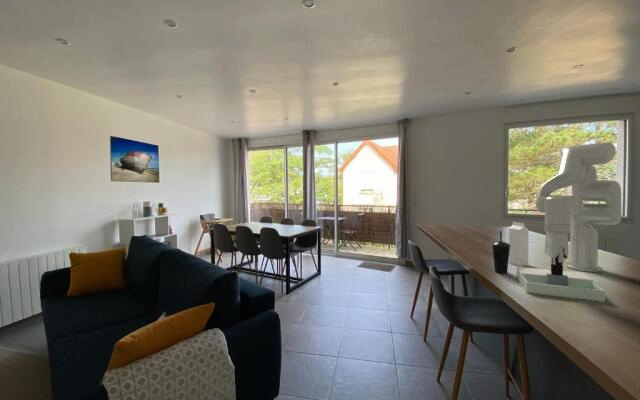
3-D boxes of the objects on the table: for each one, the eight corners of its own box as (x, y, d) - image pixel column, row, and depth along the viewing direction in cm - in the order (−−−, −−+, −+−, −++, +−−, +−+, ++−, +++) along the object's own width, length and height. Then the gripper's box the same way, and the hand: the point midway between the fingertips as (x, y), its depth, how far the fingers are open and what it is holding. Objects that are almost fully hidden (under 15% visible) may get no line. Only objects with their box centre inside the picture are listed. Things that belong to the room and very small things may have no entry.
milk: (520, 266, 134) (520, 223, 133) (508, 263, 140) (508, 222, 139) (528, 264, 136) (528, 222, 135) (517, 261, 142) (516, 221, 141)
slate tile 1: (546, 273, 105) (547, 274, 103) (565, 275, 102) (567, 276, 100) (546, 283, 105) (547, 284, 103) (566, 285, 102) (568, 286, 100)
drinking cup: (514, 274, 122) (513, 232, 121) (495, 274, 124) (495, 232, 123) (506, 269, 130) (505, 229, 129) (488, 269, 131) (488, 229, 130)
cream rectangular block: (516, 277, 118) (516, 267, 118) (582, 284, 108) (582, 272, 108) (521, 284, 110) (521, 273, 110) (592, 292, 100) (592, 279, 100)
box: (521, 285, 110) (521, 275, 110) (593, 292, 100) (593, 282, 100) (526, 292, 102) (526, 282, 102) (604, 302, 92) (604, 290, 92)
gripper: (539, 225, 111) (539, 268, 112) (551, 230, 98) (550, 279, 98) (562, 226, 107) (562, 270, 108) (578, 231, 94) (577, 282, 95)
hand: (556, 274), depth 103 cm, fingers closed
